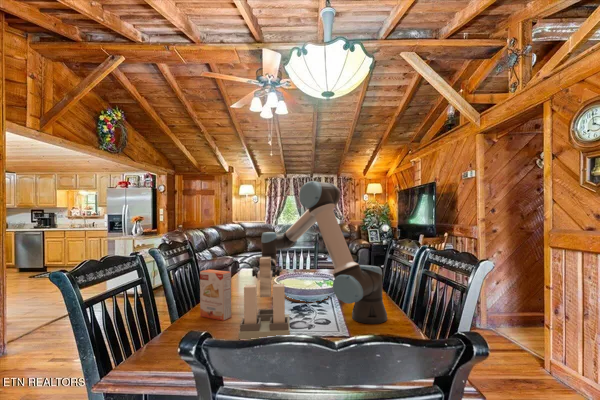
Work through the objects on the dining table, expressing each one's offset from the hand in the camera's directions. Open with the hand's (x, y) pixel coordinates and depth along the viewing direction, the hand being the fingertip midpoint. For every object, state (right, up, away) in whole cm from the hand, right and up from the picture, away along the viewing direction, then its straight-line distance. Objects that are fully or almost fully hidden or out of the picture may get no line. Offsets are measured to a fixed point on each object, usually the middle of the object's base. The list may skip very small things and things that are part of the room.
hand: (264, 277), depth 128 cm
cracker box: (-24, -22, +16) cm, 36 cm away
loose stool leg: (0, -9, +5) cm, 10 cm away
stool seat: (+1, -21, -1) cm, 21 cm away
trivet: (+18, -23, +48) cm, 56 cm away
